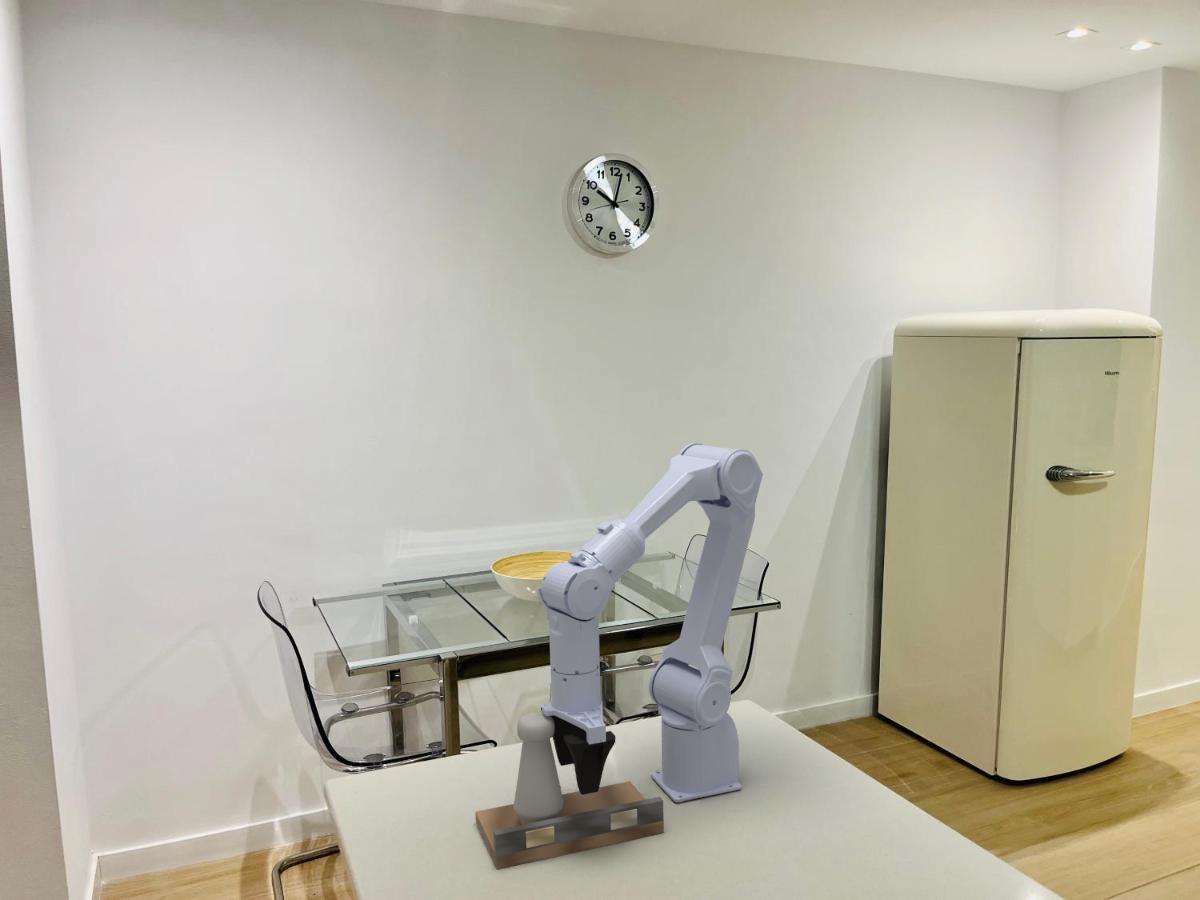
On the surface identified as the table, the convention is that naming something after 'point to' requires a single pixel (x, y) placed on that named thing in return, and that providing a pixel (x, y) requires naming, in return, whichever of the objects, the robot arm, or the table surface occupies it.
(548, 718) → the salt shaker
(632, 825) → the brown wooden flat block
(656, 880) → the table surface
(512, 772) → the table surface
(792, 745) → the table surface
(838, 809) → the table surface
